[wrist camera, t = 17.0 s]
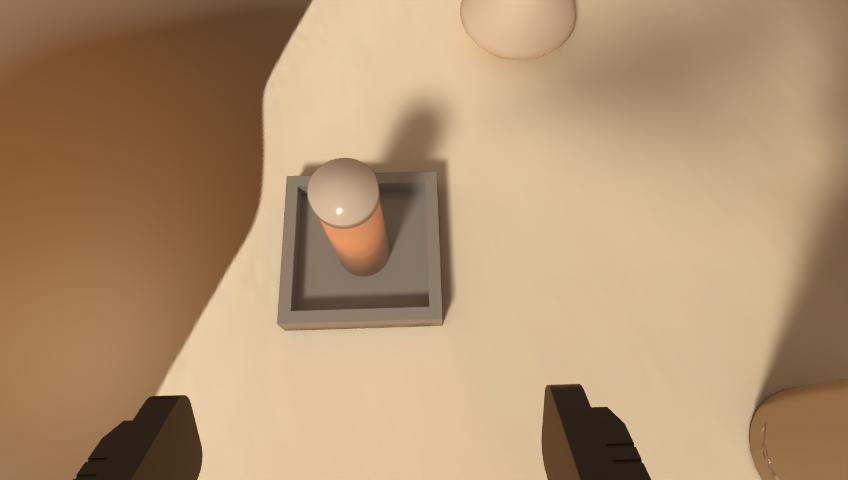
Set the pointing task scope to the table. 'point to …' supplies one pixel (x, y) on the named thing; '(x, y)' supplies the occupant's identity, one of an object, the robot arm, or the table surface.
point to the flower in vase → (518, 26)
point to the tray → (371, 295)
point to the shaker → (351, 214)
